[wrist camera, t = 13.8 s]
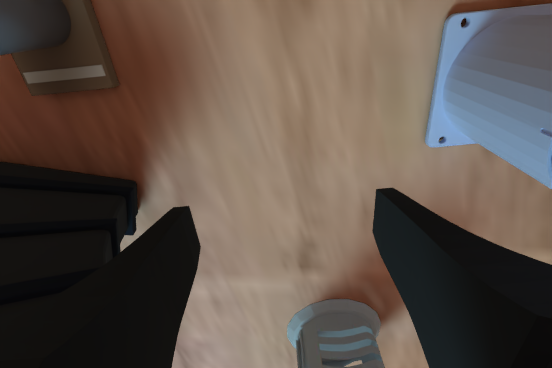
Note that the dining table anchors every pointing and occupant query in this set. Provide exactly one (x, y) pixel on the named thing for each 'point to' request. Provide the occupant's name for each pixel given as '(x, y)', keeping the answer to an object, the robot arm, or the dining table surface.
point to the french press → (336, 335)
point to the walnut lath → (70, 58)
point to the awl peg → (32, 25)
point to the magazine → (57, 231)
